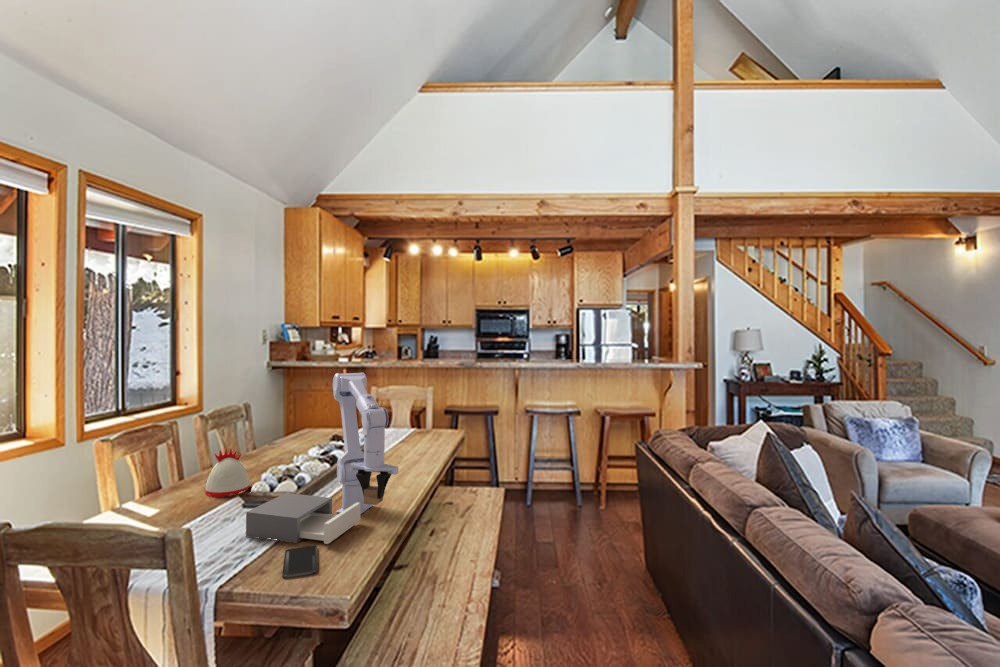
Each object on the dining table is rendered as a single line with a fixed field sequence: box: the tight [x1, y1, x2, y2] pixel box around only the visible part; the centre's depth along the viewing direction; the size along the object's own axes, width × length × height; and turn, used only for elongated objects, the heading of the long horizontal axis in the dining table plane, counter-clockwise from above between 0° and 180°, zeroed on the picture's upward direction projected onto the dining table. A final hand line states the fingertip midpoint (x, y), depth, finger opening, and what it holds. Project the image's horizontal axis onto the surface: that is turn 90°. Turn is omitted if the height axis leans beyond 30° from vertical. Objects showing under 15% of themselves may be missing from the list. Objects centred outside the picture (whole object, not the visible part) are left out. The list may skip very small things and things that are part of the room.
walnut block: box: [364, 485, 384, 506], centre depth 147 cm, size 4×4×4 cm
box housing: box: [245, 492, 333, 544], centre depth 147 cm, size 16×17×7 cm
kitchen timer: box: [204, 448, 251, 498], centre depth 179 cm, size 14×14×15 cm
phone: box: [281, 545, 319, 580], centre depth 126 cm, size 8×1×15 cm
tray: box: [299, 502, 361, 545], centre depth 145 cm, size 16×17×5 cm
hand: (373, 496), depth 147 cm, fingers closed on walnut block, 4 cm apart
